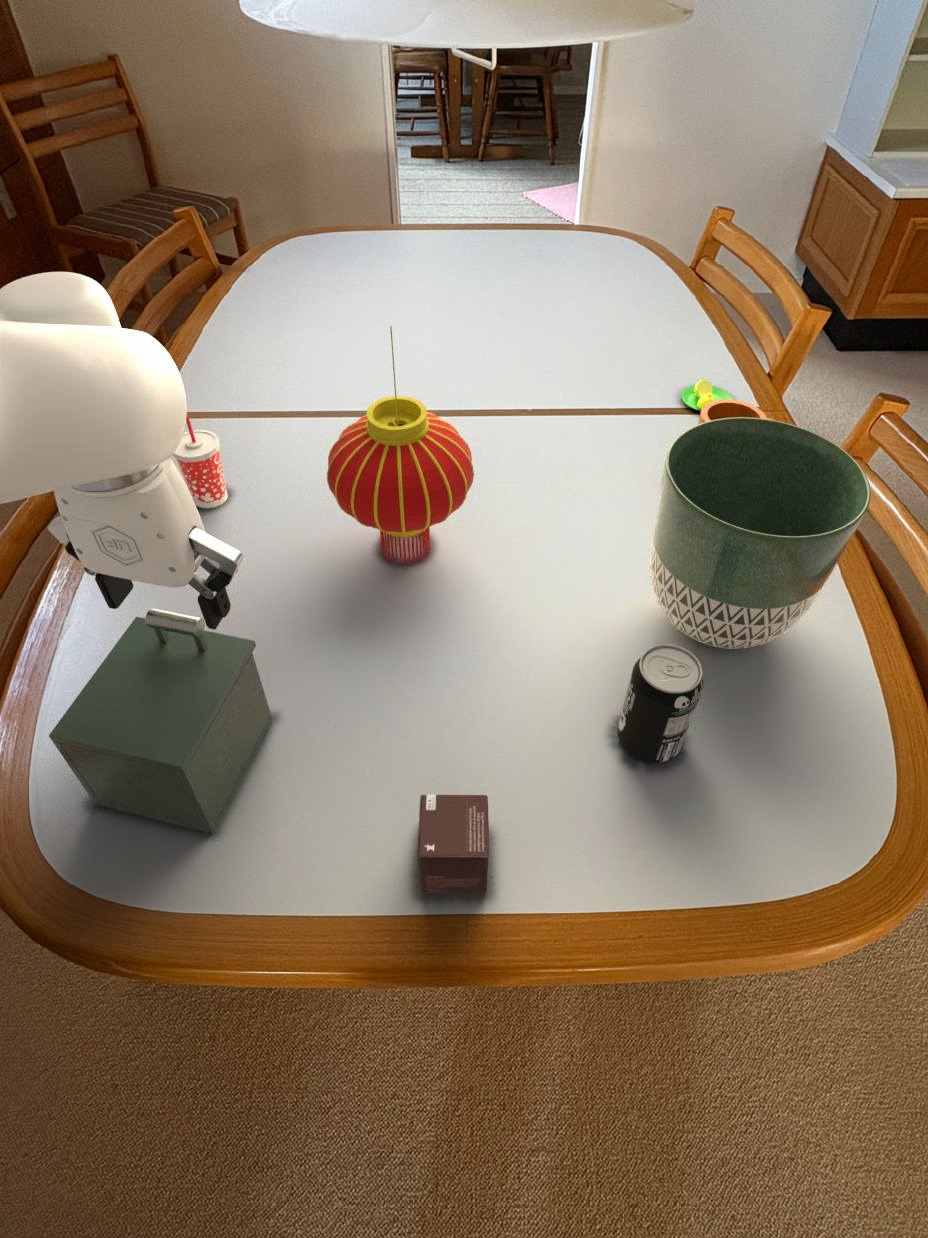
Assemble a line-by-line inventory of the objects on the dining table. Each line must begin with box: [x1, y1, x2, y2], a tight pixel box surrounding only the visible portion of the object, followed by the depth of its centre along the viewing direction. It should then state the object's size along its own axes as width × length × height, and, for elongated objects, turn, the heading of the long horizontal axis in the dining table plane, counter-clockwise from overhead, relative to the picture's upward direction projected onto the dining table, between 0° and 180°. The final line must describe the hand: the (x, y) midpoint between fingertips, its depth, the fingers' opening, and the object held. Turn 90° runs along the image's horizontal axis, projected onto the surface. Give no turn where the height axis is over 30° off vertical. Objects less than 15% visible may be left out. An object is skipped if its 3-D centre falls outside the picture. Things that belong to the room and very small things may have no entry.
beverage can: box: [616, 643, 705, 765], centre depth 77 cm, size 7×7×12 cm
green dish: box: [681, 379, 734, 412], centre depth 124 cm, size 8×8×3 cm
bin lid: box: [48, 608, 257, 772], centre depth 70 cm, size 14×13×5 cm
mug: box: [697, 399, 776, 425], centre depth 109 cm, size 9×12×9 cm
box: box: [416, 794, 490, 895], centre depth 69 cm, size 6×6×7 cm
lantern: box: [326, 325, 475, 565], centre depth 90 cm, size 17×17×30 cm
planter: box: [649, 417, 872, 650], centre depth 85 cm, size 20×20×21 cm
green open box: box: [52, 652, 273, 834], centre depth 75 cm, size 14×13×11 cm
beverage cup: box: [172, 411, 228, 509], centre depth 103 cm, size 6×6×14 cm
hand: (170, 607), depth 71 cm, fingers open, 9 cm apart
